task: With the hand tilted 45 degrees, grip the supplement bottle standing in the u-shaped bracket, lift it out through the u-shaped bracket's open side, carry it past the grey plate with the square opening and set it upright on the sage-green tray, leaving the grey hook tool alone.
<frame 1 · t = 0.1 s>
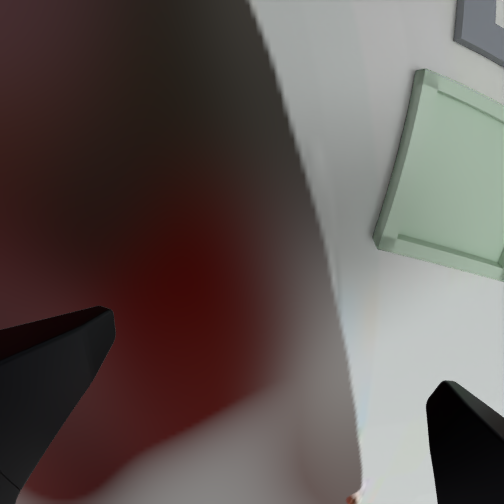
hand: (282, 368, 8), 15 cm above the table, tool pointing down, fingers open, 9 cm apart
tray: (469, 181, 18), on the table
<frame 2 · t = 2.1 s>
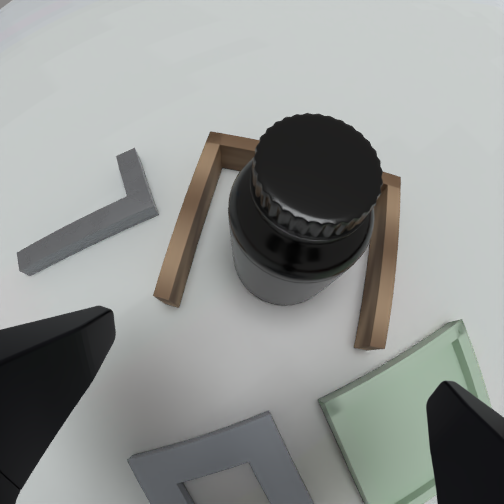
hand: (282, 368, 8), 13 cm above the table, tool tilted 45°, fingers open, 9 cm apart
supplement bottle: (283, 259, 22), on the table
hole plate: (228, 496, 17), on the table
crook tool: (86, 237, 22), on the table
u-shaped bracket: (283, 258, 22), on the table
tray: (417, 426, 19), on the table
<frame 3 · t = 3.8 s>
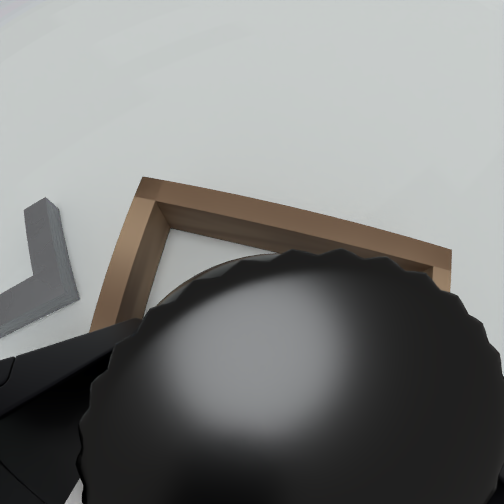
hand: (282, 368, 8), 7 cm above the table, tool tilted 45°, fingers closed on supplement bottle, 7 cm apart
supplement bottle: (261, 380, 14), on the table, touching gripper
crook tool: (0, 323, 14), on the table
u-shaped bracket: (261, 381, 14), on the table
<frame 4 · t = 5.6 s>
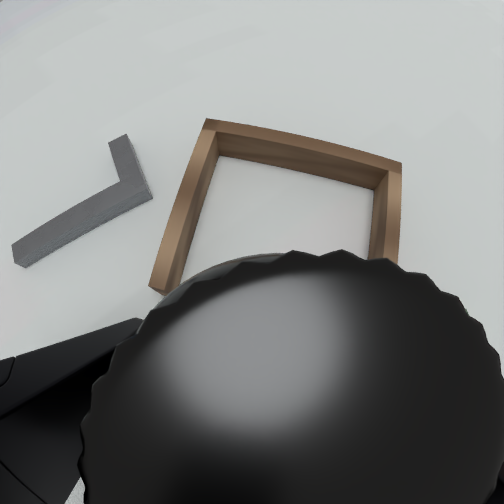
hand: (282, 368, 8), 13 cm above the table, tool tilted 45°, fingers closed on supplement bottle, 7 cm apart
supplement bottle: (260, 379, 14), point 6 cm above the table, touching gripper
crook tool: (81, 225, 22), on the table
u-shaped bracket: (282, 246, 22), on the table
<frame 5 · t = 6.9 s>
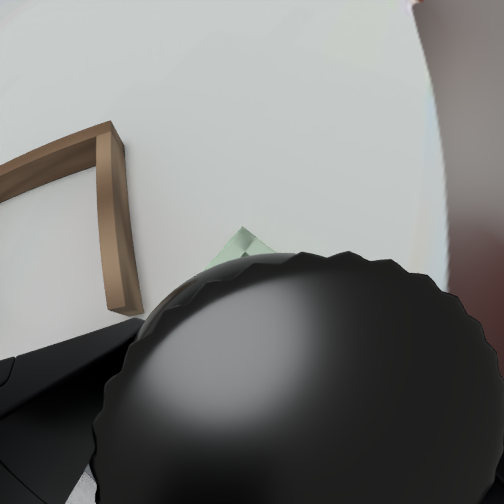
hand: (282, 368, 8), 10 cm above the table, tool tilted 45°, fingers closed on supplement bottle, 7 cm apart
supplement bottle: (258, 377, 14), point 3 cm above the table, touching gripper
u-shaped bracket: (42, 259, 19), on the table
tray: (257, 379, 17), on the table
when the fingers open (8 cm above the table, at t = 7.7 s): supplement bottle stays where it is, resting on tray.
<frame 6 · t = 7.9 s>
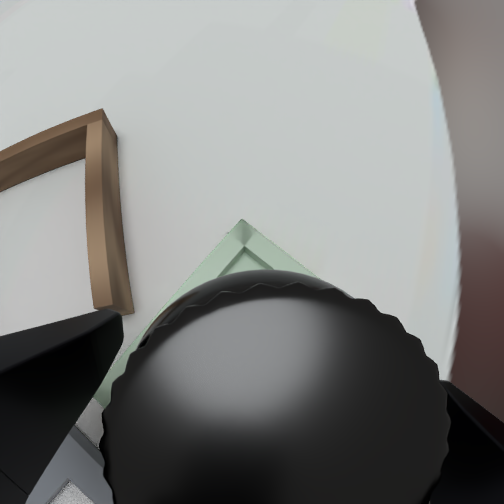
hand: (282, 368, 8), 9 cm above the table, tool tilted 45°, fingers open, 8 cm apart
supplement bottle: (256, 379, 15), point 1 cm above the table, touching tray
u-shaped bracket: (29, 255, 17), on the table
tray: (257, 386, 15), on the table
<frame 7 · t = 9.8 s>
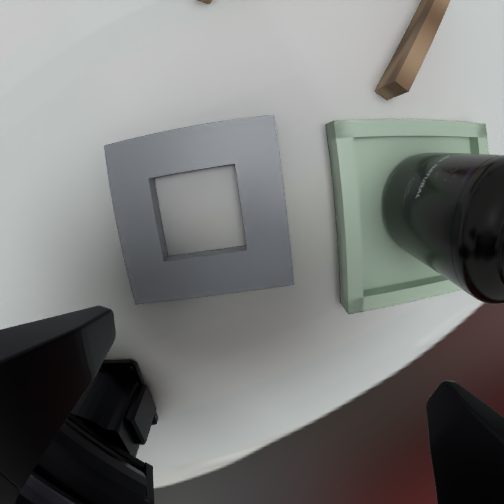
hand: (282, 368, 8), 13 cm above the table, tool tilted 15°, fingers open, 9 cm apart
supplement bottle: (422, 204, 19), point 1 cm above the table, touching tray
hole plate: (200, 211, 19), on the table
tray: (415, 208, 20), on the table
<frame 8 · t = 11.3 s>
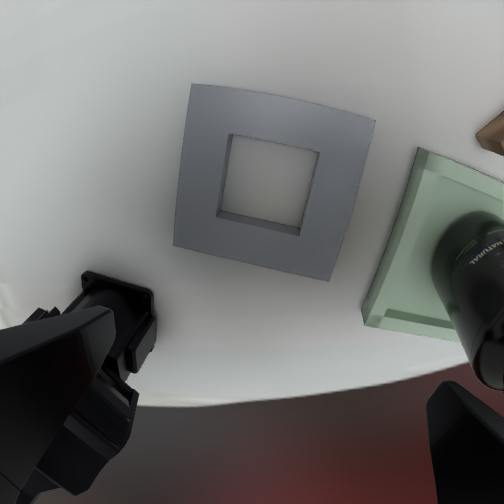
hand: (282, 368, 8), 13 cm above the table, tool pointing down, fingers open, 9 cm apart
supplement bottle: (470, 256, 18), point 1 cm above the table, touching tray
hole plate: (267, 180, 19), on the table
u-shaped bracket: (469, 16, 12), on the table
tray: (462, 255, 19), on the table
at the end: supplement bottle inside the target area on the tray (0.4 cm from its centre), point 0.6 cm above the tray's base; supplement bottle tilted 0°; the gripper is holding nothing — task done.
